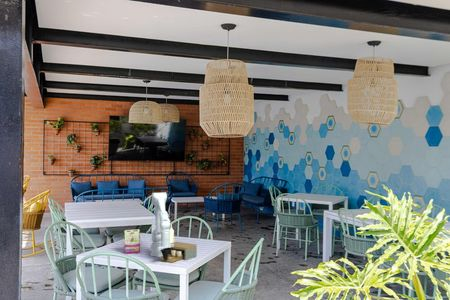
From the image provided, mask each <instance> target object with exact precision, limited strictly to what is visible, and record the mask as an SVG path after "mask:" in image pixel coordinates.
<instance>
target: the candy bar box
mask: <svg viewBox="0 0 450 300" xmlns="http://www.w3.org/2000/svg"><path fill="white" fill-rule="evenodd" d="M123 238H124V239H123V240H124V241H123V242H124V243H123V246H124V247H123V249H124V250H123V251H124V255H126V254H127V255H129V254H140V253H141V229H139V228H138V229H135V228H134V229H124V231H123Z"/></svg>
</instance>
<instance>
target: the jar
mask: <svg viewBox="0 0 450 300" xmlns="http://www.w3.org/2000/svg"><path fill="white" fill-rule="evenodd" d="M159 233H161V232H159ZM173 242H175V230H174V229H173V224H172V223H171V229H170V243H173Z"/></svg>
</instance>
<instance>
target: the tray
mask: <svg viewBox="0 0 450 300" xmlns="http://www.w3.org/2000/svg"><path fill="white" fill-rule="evenodd" d="M181 260H185V254H182V251H181V250H178V251H177V250H171V254H169V255H168V259H167V260H164V258H163V256H162V257H160V262H165V263H171V264H174V263H176V262H178V261H181Z"/></svg>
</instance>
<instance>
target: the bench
mask: <svg viewBox="0 0 450 300" xmlns="http://www.w3.org/2000/svg"><path fill="white" fill-rule="evenodd" d="M170 244H174V247H170V249H171V250H177V251H178V250H181V251H182V254H185V259H184V261H189V260H191V259H193V258H197V256H198V255H197V253H198V251H197V250H198V248H197V246H198V245H197V244H195V243H188V242H181V241H174V242H173V243H170ZM171 250H170V252H169V254H171Z"/></svg>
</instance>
